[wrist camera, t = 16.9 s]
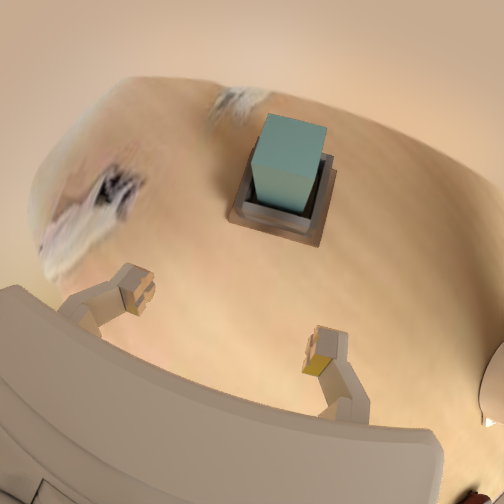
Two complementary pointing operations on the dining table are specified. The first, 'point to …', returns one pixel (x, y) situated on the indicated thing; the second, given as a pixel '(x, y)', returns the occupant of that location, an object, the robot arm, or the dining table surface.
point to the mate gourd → (476, 499)
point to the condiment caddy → (280, 222)
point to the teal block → (287, 163)
